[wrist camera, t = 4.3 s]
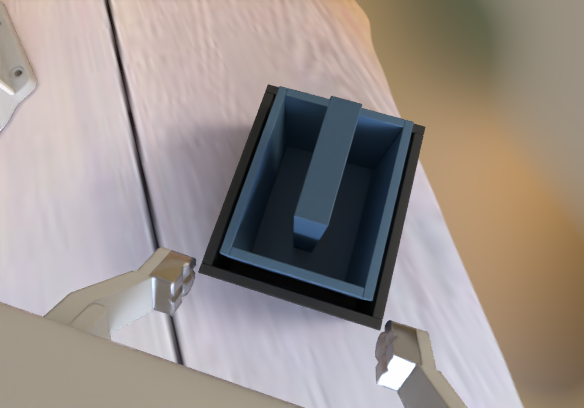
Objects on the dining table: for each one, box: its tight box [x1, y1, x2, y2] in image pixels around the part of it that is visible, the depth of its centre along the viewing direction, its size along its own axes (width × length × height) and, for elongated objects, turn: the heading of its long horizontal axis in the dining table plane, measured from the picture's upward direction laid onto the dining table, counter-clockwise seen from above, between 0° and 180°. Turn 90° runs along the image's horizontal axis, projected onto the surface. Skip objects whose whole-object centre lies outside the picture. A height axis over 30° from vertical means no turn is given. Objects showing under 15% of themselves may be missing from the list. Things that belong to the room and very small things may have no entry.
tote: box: [198, 85, 425, 330], centre depth 30 cm, size 18×15×8 cm
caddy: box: [220, 86, 414, 301], centre depth 26 cm, size 14×11×15 cm
